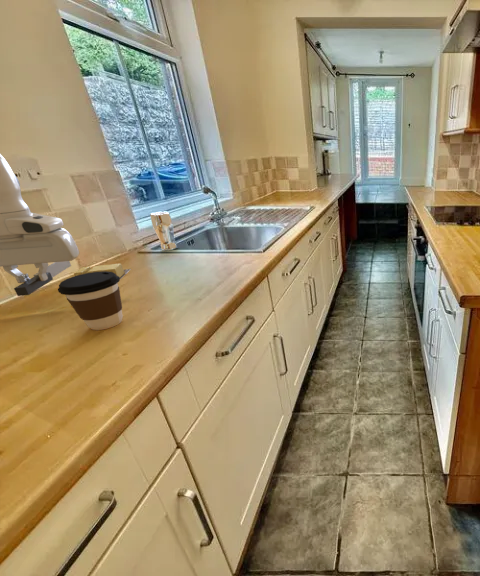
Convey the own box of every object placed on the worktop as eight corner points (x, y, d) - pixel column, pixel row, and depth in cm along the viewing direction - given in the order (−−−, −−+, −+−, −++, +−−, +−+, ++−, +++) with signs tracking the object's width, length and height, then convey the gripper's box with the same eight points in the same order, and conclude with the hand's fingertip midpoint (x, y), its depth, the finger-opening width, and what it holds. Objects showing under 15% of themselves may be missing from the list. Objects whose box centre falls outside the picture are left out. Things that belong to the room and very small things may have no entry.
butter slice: (78, 283, 97) (73, 272, 96) (86, 277, 102) (82, 267, 101) (86, 282, 98) (81, 272, 97) (94, 276, 103) (89, 266, 101)
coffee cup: (117, 310, 85) (100, 268, 80) (143, 317, 81) (128, 274, 76) (66, 330, 75) (44, 283, 70) (94, 339, 72) (73, 291, 67)
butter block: (91, 282, 98) (87, 271, 97) (99, 275, 103) (95, 265, 102) (118, 279, 101) (114, 268, 99) (124, 273, 105) (121, 263, 104)
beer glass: (182, 245, 140) (172, 211, 133) (173, 250, 133) (163, 214, 127) (165, 246, 139) (155, 211, 133) (156, 251, 133) (145, 215, 127)
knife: (28, 295, 73) (22, 283, 72) (17, 296, 73) (11, 284, 71) (75, 265, 91) (70, 255, 90) (66, 266, 91) (62, 256, 89)
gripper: (-71, 230, 65) (-35, 291, 71) (55, 224, 71) (79, 280, 77) (-45, 224, 70) (-14, 281, 76) (70, 218, 77) (91, 272, 82)
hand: (33, 281), depth 76 cm, fingers closed on knife, 2 cm apart
